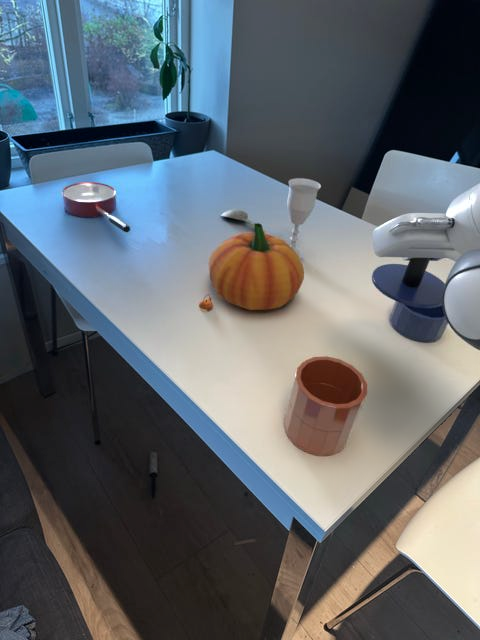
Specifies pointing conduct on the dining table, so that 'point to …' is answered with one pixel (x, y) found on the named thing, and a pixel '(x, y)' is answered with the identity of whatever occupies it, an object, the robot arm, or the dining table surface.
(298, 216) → the chalice
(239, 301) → the pumpkin
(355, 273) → the dining table surface
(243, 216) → the soupspoon
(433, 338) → the blue round container
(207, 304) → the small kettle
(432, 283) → the lid
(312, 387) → the pot
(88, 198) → the frying pan
